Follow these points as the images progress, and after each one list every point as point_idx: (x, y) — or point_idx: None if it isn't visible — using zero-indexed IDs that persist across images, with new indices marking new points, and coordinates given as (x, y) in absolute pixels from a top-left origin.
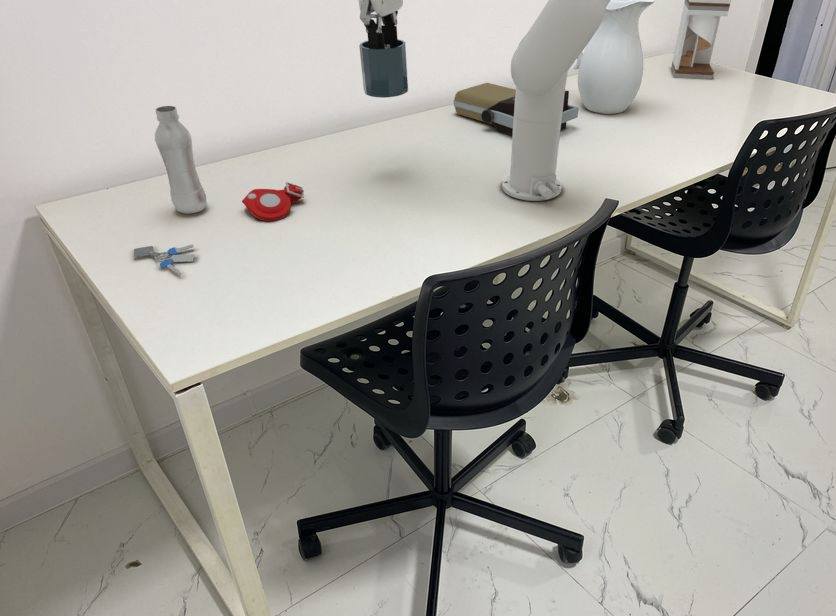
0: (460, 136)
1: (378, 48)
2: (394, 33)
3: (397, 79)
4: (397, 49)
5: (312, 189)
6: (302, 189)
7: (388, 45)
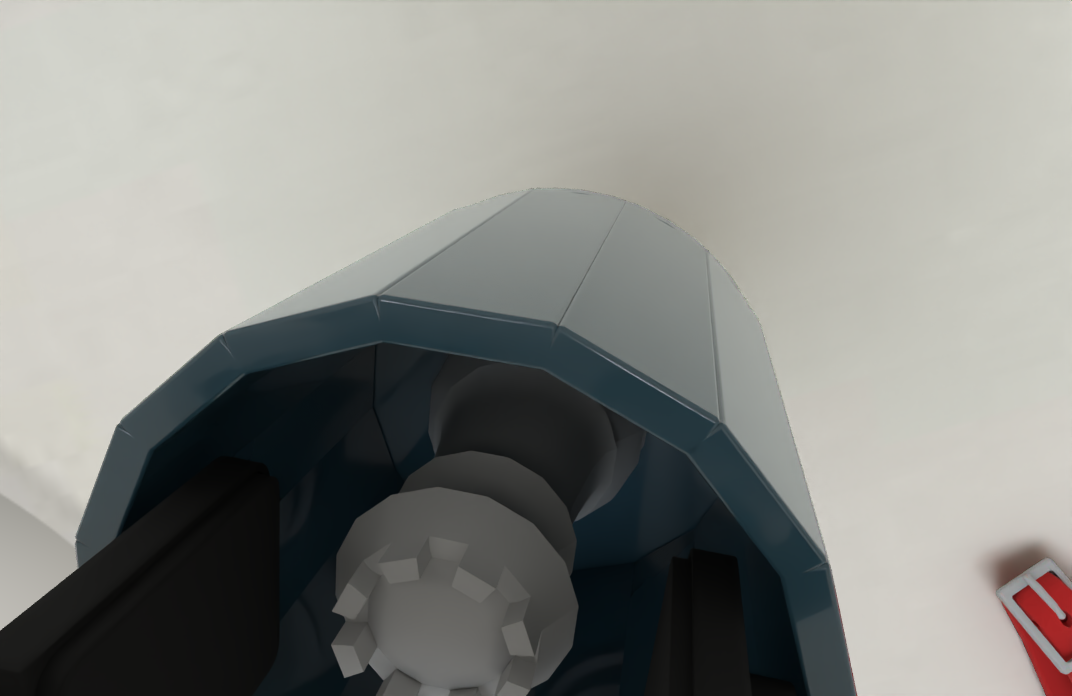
0: (39, 40)
1: (778, 691)
2: (141, 606)
3: (697, 271)
4: (654, 367)
5: (868, 553)
6: (1035, 584)
7: (359, 586)
